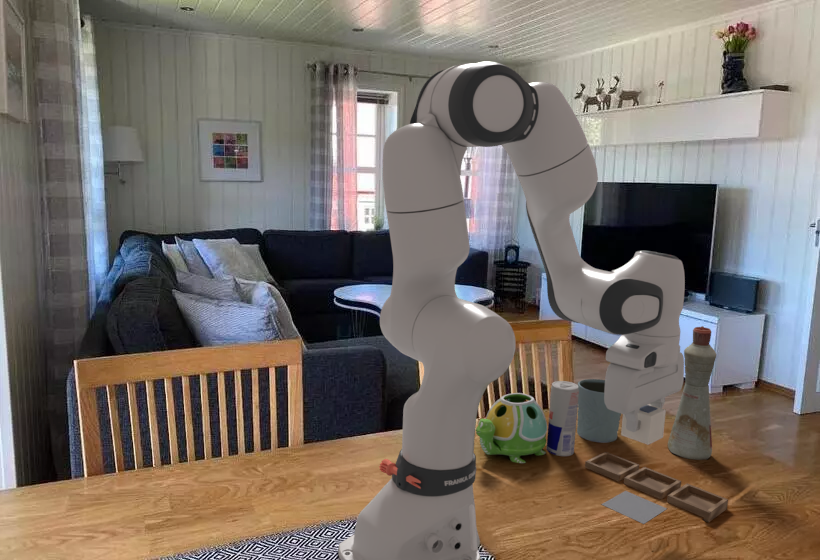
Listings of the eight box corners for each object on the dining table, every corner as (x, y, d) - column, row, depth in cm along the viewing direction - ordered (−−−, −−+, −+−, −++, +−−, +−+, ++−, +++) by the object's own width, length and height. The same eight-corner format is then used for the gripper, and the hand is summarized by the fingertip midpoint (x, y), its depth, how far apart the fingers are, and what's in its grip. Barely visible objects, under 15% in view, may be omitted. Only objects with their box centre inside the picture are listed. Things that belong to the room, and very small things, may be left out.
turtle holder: (454, 455, 130) (456, 399, 128) (513, 435, 142) (517, 383, 140) (498, 478, 121) (502, 419, 119) (558, 455, 132) (562, 400, 130)
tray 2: (660, 502, 114) (661, 493, 114) (623, 486, 119) (624, 477, 119) (680, 490, 119) (681, 481, 118) (643, 475, 124) (644, 466, 124)
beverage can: (571, 448, 136) (576, 381, 133) (575, 459, 130) (581, 389, 128) (544, 446, 136) (549, 379, 134) (547, 457, 131) (553, 387, 128)
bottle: (657, 450, 136) (670, 323, 132) (682, 442, 141) (696, 319, 136) (694, 466, 129) (709, 332, 124) (719, 457, 134) (735, 327, 129)
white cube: (648, 444, 105) (651, 415, 104) (621, 435, 109) (623, 406, 108) (663, 437, 109) (665, 408, 108) (636, 428, 112) (638, 400, 111)
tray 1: (618, 484, 120) (619, 475, 120) (584, 469, 126) (585, 461, 125) (638, 473, 125) (639, 464, 125) (605, 459, 130) (605, 451, 130)
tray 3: (708, 522, 108) (709, 512, 107) (666, 504, 113) (667, 495, 113) (726, 508, 112) (728, 499, 112) (686, 492, 118) (687, 483, 118)
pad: (643, 527, 105) (643, 523, 105) (601, 507, 111) (601, 504, 111) (666, 511, 111) (667, 508, 111) (625, 493, 117) (625, 490, 116)
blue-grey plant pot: (566, 437, 141) (570, 385, 139) (584, 424, 149) (588, 375, 147) (611, 450, 135) (616, 396, 133) (627, 436, 143) (632, 385, 141)
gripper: (662, 334, 115) (655, 407, 118) (600, 352, 102) (593, 434, 104) (697, 342, 111) (689, 417, 113) (636, 362, 97) (628, 447, 100)
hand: (642, 425), depth 109 cm, fingers closed on white cube, 5 cm apart
